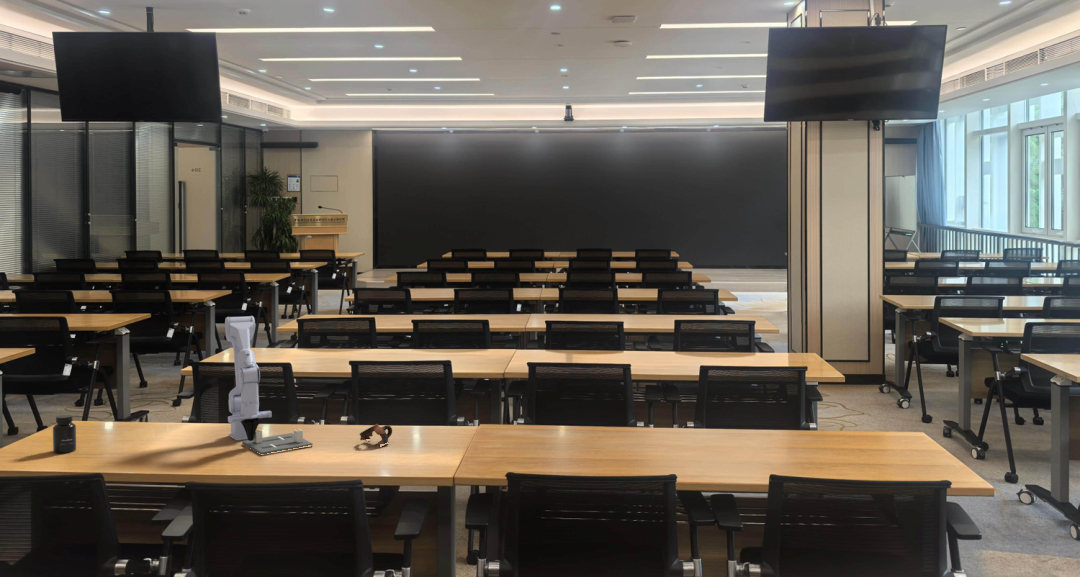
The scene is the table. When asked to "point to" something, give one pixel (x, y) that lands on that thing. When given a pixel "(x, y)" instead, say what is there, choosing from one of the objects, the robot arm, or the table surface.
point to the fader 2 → (298, 435)
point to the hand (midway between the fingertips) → (250, 440)
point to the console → (276, 443)
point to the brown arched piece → (378, 431)
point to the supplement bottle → (64, 435)
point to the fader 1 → (258, 436)
